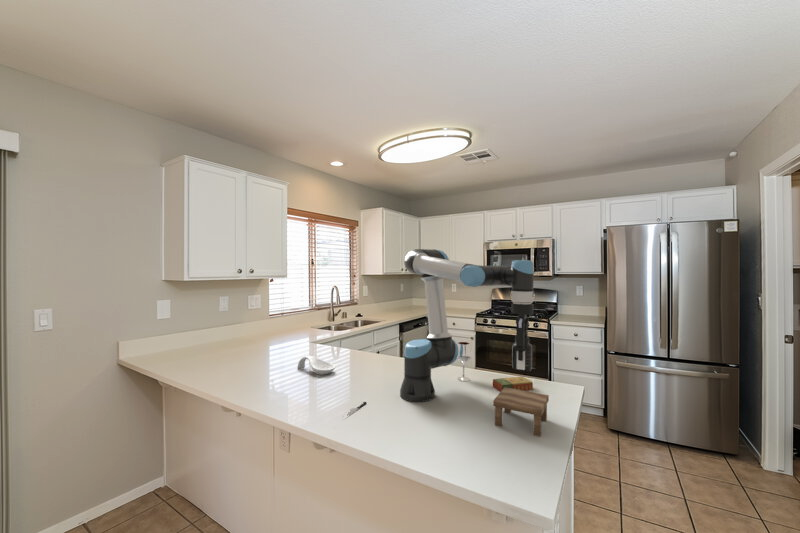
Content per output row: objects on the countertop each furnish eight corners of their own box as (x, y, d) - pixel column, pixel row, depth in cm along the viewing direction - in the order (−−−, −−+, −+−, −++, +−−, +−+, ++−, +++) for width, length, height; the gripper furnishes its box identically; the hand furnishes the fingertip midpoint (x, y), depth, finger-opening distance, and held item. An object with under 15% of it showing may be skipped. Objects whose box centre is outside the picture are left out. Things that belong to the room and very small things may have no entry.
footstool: (541, 437, 114) (541, 410, 114) (493, 425, 122) (493, 400, 122) (548, 419, 128) (548, 395, 128) (504, 409, 136) (504, 387, 136)
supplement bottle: (509, 366, 128) (509, 334, 128) (526, 366, 129) (527, 334, 129) (516, 372, 121) (517, 338, 121) (535, 371, 122) (535, 337, 122)
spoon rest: (339, 372, 183) (339, 359, 183) (323, 378, 173) (323, 364, 173) (308, 365, 196) (308, 352, 196) (291, 370, 186) (291, 357, 186)
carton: (533, 390, 158) (533, 381, 158) (501, 393, 154) (501, 384, 154) (522, 384, 166) (522, 375, 166) (492, 387, 162) (492, 378, 162)
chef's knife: (333, 422, 125) (340, 423, 124) (333, 419, 125) (340, 420, 124) (360, 403, 143) (367, 403, 142) (360, 400, 143) (366, 401, 142)
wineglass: (471, 382, 168) (472, 345, 168) (454, 381, 169) (455, 344, 169) (471, 377, 176) (472, 342, 176) (455, 376, 177) (455, 341, 177)
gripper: (530, 306, 114) (530, 375, 114) (535, 301, 132) (535, 361, 132) (507, 304, 118) (506, 372, 118) (515, 300, 136) (514, 358, 135)
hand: (522, 366), depth 125 cm, fingers closed on supplement bottle, 7 cm apart
